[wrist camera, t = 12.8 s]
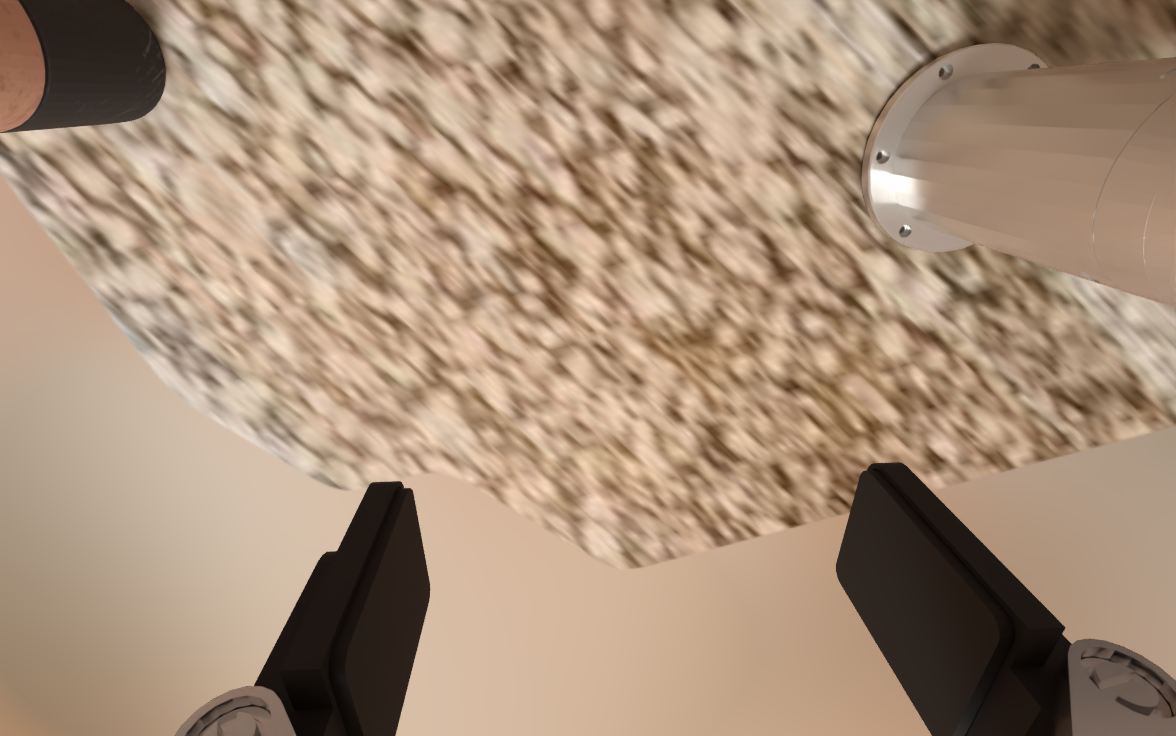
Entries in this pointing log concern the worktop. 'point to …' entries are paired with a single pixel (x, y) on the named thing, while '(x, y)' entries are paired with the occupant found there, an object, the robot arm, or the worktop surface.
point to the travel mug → (75, 64)
